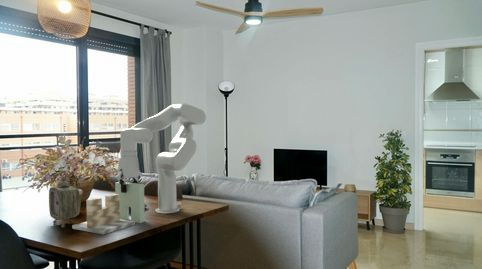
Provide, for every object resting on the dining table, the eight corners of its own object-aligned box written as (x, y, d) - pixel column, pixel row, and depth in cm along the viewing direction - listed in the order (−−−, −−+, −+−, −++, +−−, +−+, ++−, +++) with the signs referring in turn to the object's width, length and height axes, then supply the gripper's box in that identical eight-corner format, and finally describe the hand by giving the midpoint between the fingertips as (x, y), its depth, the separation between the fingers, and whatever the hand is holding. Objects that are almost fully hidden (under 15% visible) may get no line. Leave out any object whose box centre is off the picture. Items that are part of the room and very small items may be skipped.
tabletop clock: (49, 223, 182) (48, 170, 181) (69, 220, 188) (68, 169, 188) (60, 229, 172) (59, 173, 171) (81, 225, 178) (80, 171, 177)
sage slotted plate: (120, 217, 192) (119, 181, 192) (144, 221, 184) (143, 183, 184) (115, 219, 190) (115, 182, 189) (140, 223, 182) (139, 184, 181)
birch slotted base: (104, 219, 189) (103, 192, 188) (134, 224, 179) (134, 195, 178) (72, 228, 173) (71, 198, 173) (103, 234, 163) (102, 202, 163)
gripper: (136, 153, 196) (136, 188, 196) (109, 155, 181) (109, 193, 181) (147, 153, 192) (148, 189, 192) (120, 155, 177) (121, 194, 177)
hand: (129, 191), depth 187 cm, fingers open, 6 cm apart
